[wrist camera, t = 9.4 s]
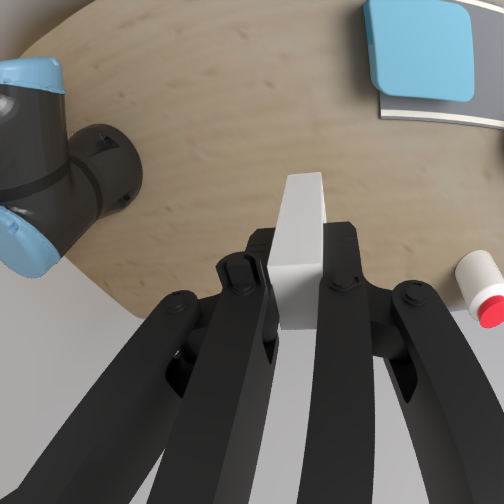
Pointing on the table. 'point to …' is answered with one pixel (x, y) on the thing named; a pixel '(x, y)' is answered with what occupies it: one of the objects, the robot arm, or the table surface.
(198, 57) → the table surface
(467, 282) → the pill bottle
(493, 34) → the mat
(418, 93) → the light blue flat block
